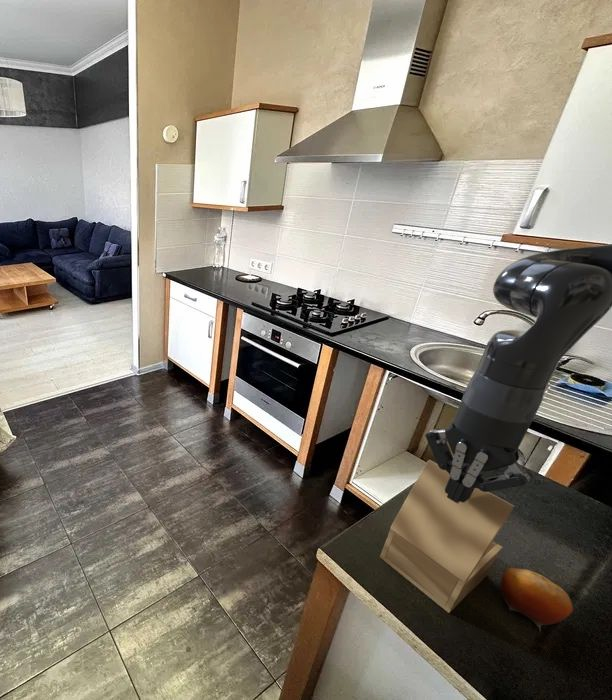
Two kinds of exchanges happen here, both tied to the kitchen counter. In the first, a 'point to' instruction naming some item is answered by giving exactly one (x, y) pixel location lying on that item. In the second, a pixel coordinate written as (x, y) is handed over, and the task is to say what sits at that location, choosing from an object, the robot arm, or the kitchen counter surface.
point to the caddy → (434, 571)
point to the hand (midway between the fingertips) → (454, 498)
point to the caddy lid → (450, 522)
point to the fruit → (535, 596)
